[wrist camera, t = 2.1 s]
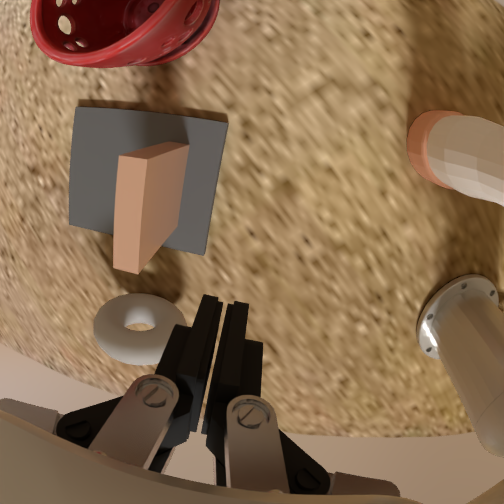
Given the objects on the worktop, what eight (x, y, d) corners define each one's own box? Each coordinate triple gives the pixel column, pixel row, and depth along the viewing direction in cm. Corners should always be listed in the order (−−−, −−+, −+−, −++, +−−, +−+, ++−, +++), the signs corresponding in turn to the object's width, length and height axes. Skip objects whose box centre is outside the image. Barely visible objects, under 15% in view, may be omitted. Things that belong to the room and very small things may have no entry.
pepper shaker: (394, 128, 25) (542, 161, 8) (448, 99, 23) (602, 112, 6) (423, 194, 28) (554, 290, 10) (474, 163, 26) (613, 228, 8)
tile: (189, 144, 27) (147, 159, 18) (177, 226, 30) (138, 274, 21) (167, 141, 27) (116, 155, 18) (157, 221, 30) (111, 267, 21)
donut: (197, 297, 34) (173, 359, 25) (195, 322, 36) (173, 384, 27) (116, 279, 34) (73, 330, 25) (117, 303, 36) (79, 356, 26)
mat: (228, 123, 27) (227, 123, 26) (205, 252, 32) (203, 255, 31) (79, 106, 26) (75, 106, 26) (72, 222, 32) (69, 224, 31)
